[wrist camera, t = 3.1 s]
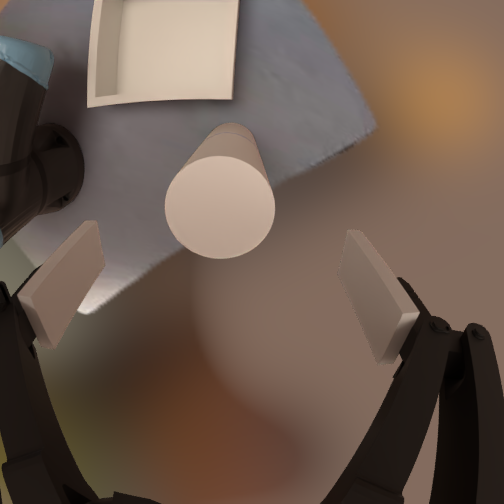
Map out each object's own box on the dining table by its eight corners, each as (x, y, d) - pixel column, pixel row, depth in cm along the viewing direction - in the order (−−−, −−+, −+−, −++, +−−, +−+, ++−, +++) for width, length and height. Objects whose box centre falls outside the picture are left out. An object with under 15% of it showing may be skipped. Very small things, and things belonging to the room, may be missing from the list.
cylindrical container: (260, 128, 39) (287, 168, 18) (249, 174, 43) (261, 266, 21) (210, 118, 38) (171, 147, 17) (201, 165, 42) (160, 249, 20)
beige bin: (111, 104, 36) (87, 107, 29) (119, -3, 27) (97, -17, 20) (233, 99, 37) (231, 99, 30) (241, -13, 28) (241, -34, 21)
